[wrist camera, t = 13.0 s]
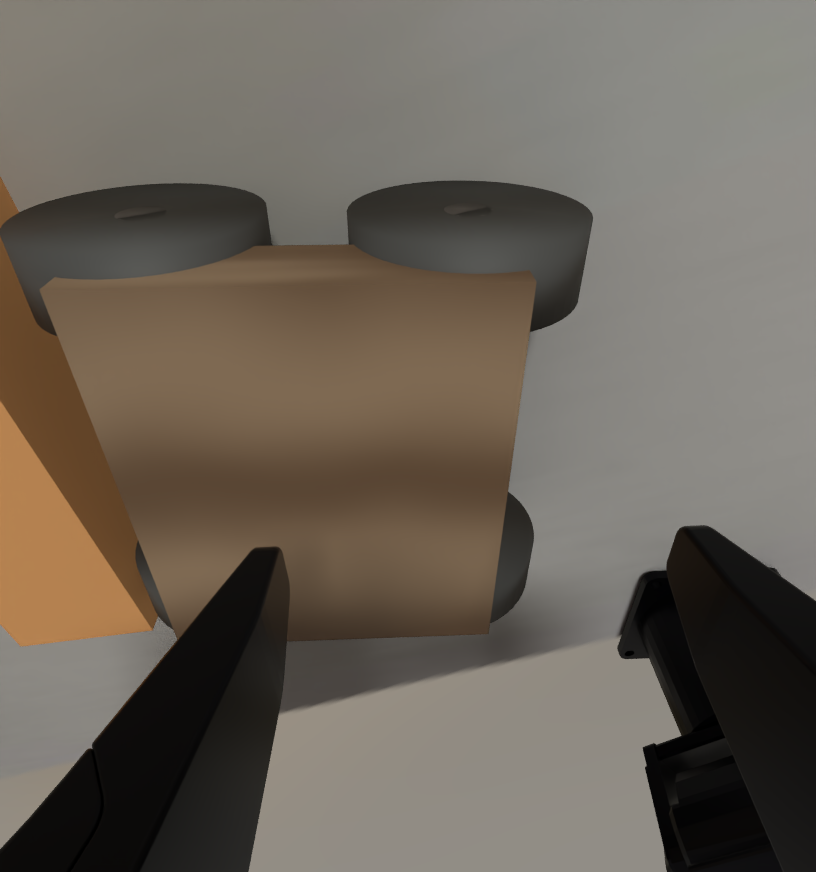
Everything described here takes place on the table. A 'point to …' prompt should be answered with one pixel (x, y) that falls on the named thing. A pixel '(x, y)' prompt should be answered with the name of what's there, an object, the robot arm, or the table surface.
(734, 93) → the table surface
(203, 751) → the robot arm
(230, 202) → the trolley
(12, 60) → the table surface
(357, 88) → the table surface
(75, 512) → the chock
